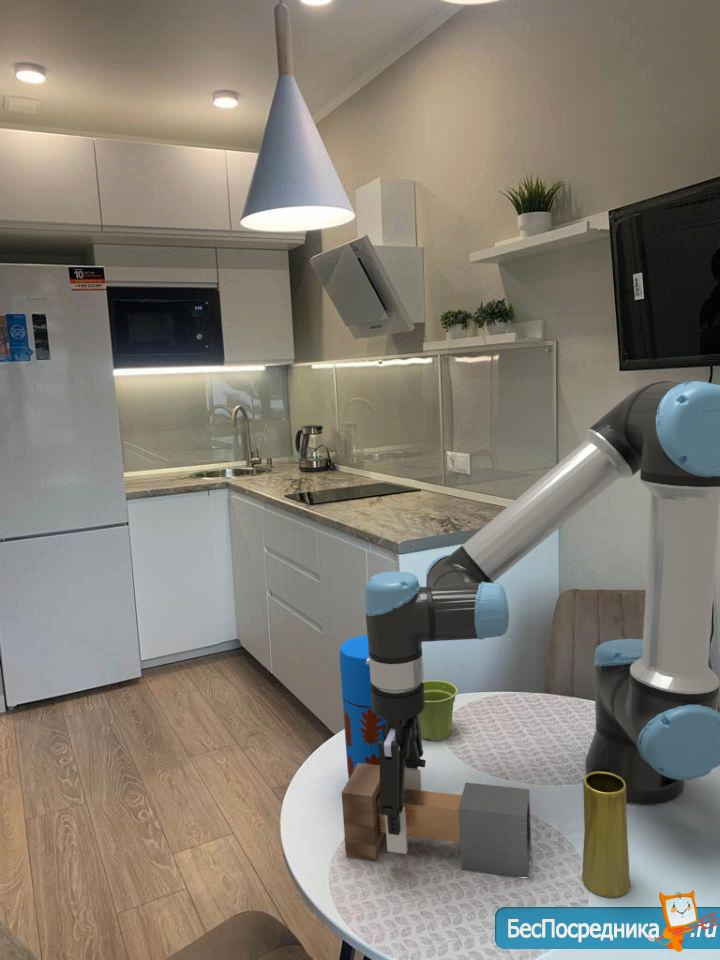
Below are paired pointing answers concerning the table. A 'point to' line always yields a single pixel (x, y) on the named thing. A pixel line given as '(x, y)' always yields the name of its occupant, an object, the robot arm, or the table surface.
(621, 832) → the vase
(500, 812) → the sleeve
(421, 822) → the rectangular peg
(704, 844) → the table surface
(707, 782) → the table surface
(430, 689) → the plant pot
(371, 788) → the socket block
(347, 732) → the thermos
